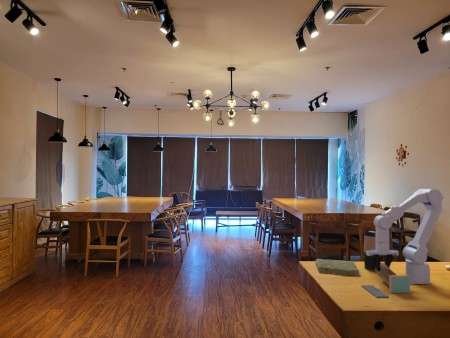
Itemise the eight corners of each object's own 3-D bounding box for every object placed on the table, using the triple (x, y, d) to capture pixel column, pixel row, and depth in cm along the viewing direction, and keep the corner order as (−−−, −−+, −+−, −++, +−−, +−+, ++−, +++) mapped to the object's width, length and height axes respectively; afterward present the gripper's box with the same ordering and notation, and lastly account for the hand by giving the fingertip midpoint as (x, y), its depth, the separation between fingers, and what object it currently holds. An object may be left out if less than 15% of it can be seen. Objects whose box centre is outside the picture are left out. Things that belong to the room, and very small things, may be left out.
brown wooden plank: (382, 271, 154) (383, 262, 153) (396, 285, 143) (397, 275, 142) (375, 271, 154) (376, 262, 153) (388, 285, 142) (390, 276, 142)
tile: (407, 291, 138) (407, 275, 139) (410, 293, 136) (410, 276, 137) (389, 291, 138) (389, 275, 138) (392, 293, 136) (392, 276, 136)
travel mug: (367, 265, 176) (367, 229, 176) (382, 269, 170) (382, 230, 170) (361, 268, 171) (361, 230, 171) (376, 272, 165) (376, 232, 165)
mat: (372, 286, 144) (372, 285, 144) (388, 297, 131) (388, 296, 131) (361, 286, 144) (361, 285, 144) (376, 297, 131) (376, 296, 131)
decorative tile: (315, 264, 181) (315, 257, 181) (353, 266, 177) (353, 259, 177) (317, 274, 162) (317, 267, 162) (360, 277, 158) (360, 270, 158)
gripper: (392, 239, 156) (392, 268, 155) (363, 239, 155) (363, 268, 155) (401, 242, 148) (401, 272, 148) (370, 243, 148) (370, 272, 148)
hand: (382, 270), depth 151 cm, fingers closed on brown wooden plank, 3 cm apart
